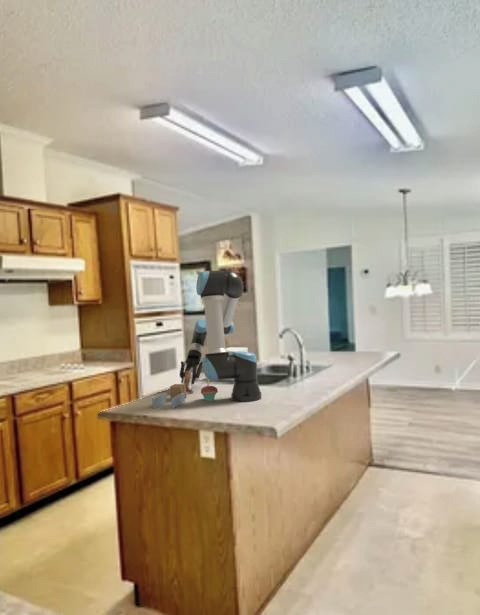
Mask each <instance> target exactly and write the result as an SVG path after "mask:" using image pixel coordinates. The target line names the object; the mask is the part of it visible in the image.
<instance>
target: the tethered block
mask: <svg viewBox="0 0 480 615" xmlns="http://www.w3.org/2000/svg"><path fill="white" fill-rule="evenodd" d="M184 371H185V370H184ZM191 377H192V371H191V370H189V371H185V384H182V383H181V384H180V383H176V384H175V383H174V384H172V385H170V386H169V393H170V395H169V396H170V400H171V399H172V398H174V397H176V396H177V395H179V394H181V393H184V394H185V399H186V398H187V395H190V394H194V393H195V392H194V391H193V386H192V387H191V390H189V388H188V386H189V382H190V378H191ZM193 392H194V393H193Z"/></svg>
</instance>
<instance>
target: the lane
mask: <svg viewBox="0 0 480 615" xmlns="http://www.w3.org/2000/svg"><path fill="white" fill-rule="evenodd" d="M167 396H168V395H167V392H162V393H161V394H159V395H156V396H155V397H153V398H152V399H151V403H152V405H151V406H152V409H156V408H158V407H160V406H161V405H163V404H165V403H166V402H167V401H168V400H167V399H168V398H167ZM185 401H186V398H185V394H184V393H181V394H179V395H177V396H176V397H174V398H172V399H171V398H170V402H171V403H170V404H171V410H174V409H176V408H177V407H179V406H181V405H183V402H184V403H185ZM180 404H181V405H180ZM178 405H179V406H178ZM175 407H176V408H175Z"/></svg>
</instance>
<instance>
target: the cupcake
mask: <svg viewBox="0 0 480 615" xmlns="http://www.w3.org/2000/svg"><path fill="white" fill-rule="evenodd" d="M206 382H207V385H206V386H204V387H202V388H201V389H200V394H201V395H202V397H203V399H204V401H205V402H212V401H215V398H216V395H217V393H218V392H219V391H218V388H217V387H216V386H215V385H210V383H209V382H210V380H208V379H207V378H206Z"/></svg>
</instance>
